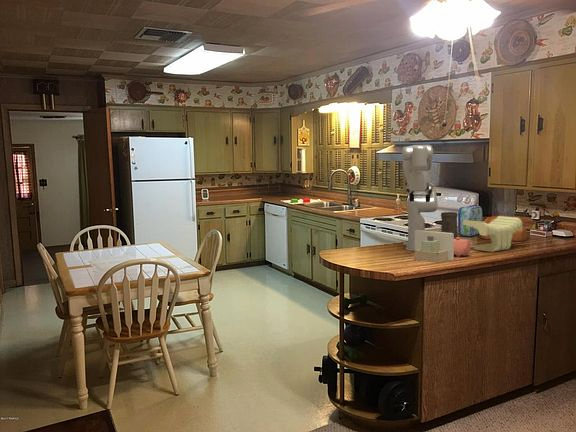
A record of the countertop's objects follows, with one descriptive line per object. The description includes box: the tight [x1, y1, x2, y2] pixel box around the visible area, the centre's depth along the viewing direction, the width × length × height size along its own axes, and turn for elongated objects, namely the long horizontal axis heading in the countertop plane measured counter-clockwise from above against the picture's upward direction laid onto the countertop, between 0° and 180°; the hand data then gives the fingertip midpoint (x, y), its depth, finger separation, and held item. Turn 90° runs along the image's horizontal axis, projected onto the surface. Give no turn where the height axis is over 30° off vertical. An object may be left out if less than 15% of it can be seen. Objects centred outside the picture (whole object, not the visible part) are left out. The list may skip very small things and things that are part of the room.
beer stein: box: [440, 211, 458, 239], centre depth 306 cm, size 15×11×20 cm
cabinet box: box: [422, 236, 439, 253], centre depth 253 cm, size 6×7×8 cm
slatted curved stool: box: [463, 215, 522, 253], centre depth 277 cm, size 30×16×18 cm, turn 118°
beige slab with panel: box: [413, 230, 455, 264], centre depth 255 cm, size 22×12×14 cm, turn 42°
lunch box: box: [457, 204, 483, 237], centre depth 336 cm, size 26×11×21 cm, turn 141°
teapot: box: [454, 236, 472, 258], centre depth 263 cm, size 14×12×10 cm
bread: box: [480, 215, 528, 242], centre depth 313 cm, size 14×26×16 cm, turn 49°
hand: (419, 201), depth 258 cm, fingers open, 9 cm apart
